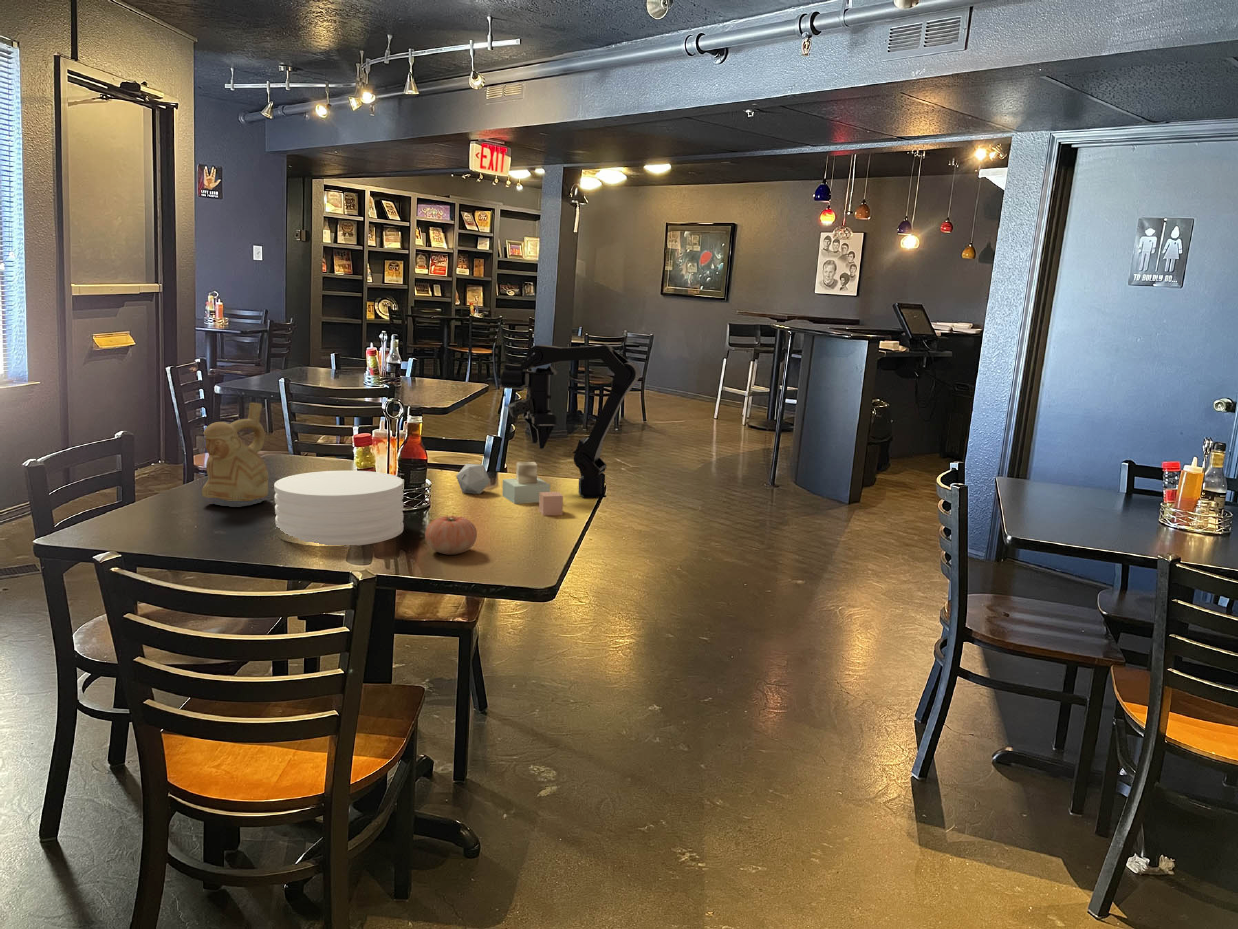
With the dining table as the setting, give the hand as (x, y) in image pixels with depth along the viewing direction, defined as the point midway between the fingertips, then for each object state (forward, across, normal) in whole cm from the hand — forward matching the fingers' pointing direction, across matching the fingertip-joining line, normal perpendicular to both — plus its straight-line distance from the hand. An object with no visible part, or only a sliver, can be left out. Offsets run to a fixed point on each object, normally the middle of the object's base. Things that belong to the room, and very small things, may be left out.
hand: (537, 445), depth 257 cm
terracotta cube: (+13, +26, -2) cm, 29 cm away
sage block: (+13, +9, -5) cm, 17 cm away
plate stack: (+14, +36, -53) cm, 66 cm away
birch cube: (+8, +9, -5) cm, 13 cm away
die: (+13, -1, -18) cm, 22 cm away
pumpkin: (+13, +58, -31) cm, 67 cm away
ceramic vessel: (+13, +4, -78) cm, 79 cm away
